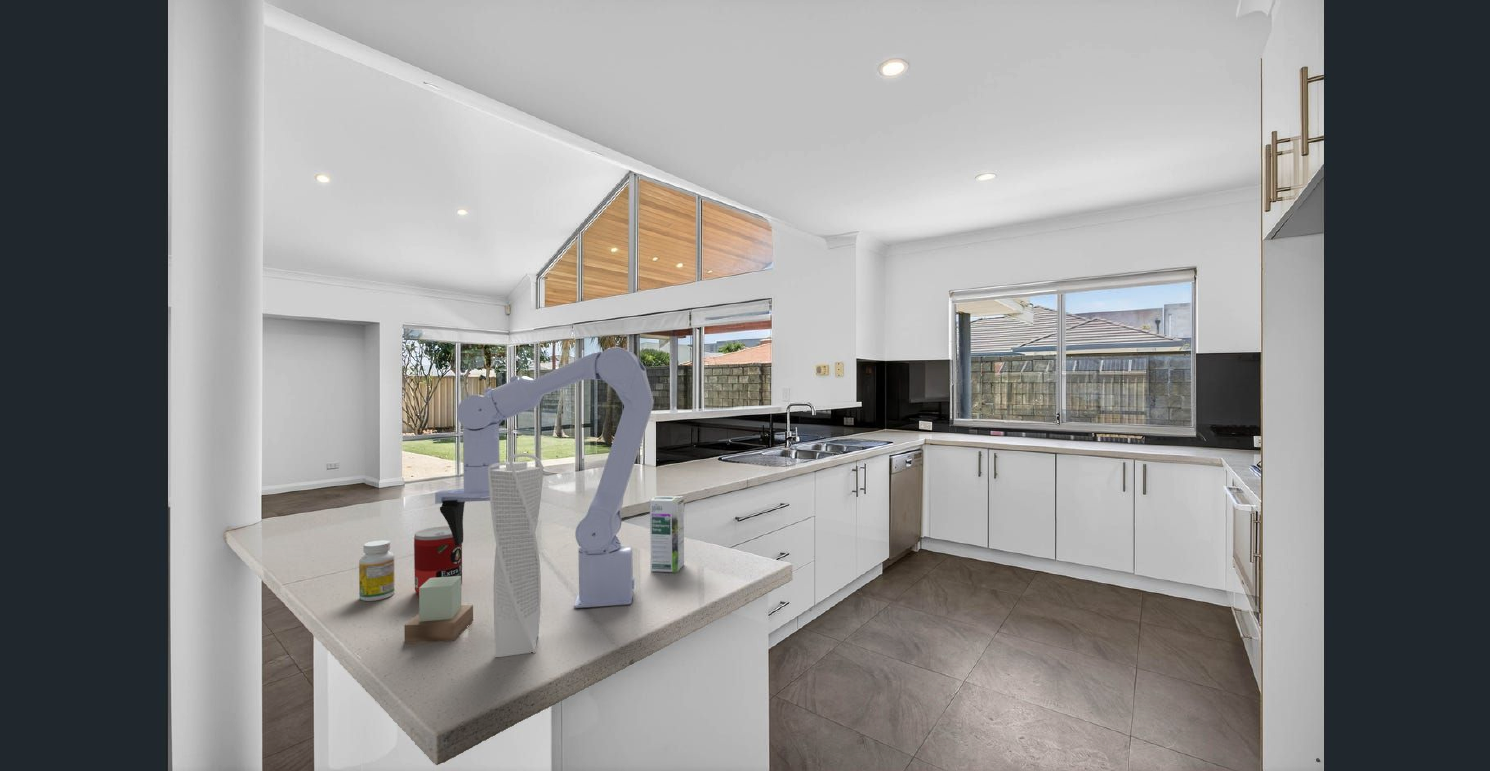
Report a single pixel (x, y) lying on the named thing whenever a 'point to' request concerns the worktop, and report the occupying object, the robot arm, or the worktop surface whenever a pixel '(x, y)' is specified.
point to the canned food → (436, 555)
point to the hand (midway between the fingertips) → (482, 542)
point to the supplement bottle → (376, 571)
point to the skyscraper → (516, 554)
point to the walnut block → (438, 627)
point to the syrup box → (667, 533)
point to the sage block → (440, 598)
